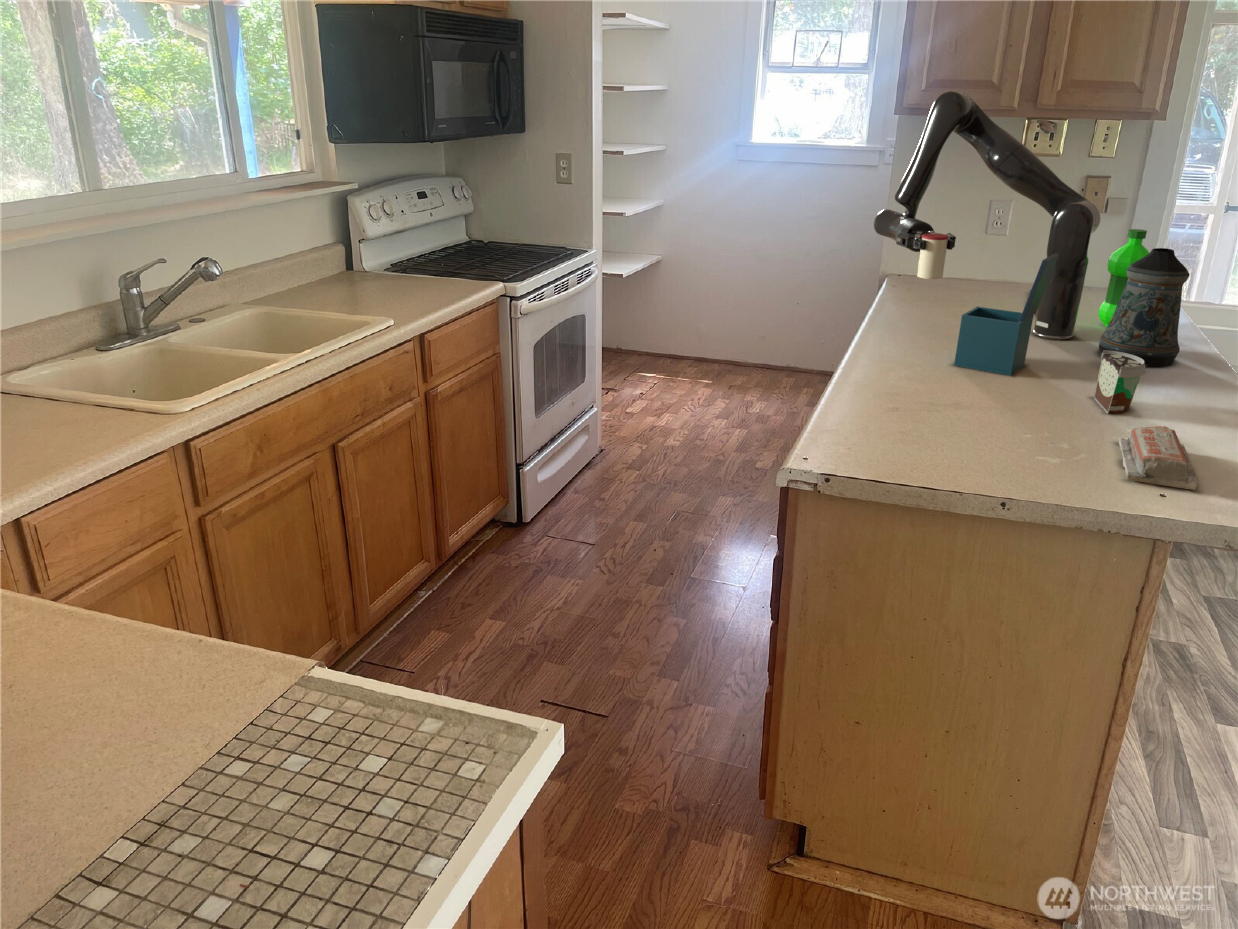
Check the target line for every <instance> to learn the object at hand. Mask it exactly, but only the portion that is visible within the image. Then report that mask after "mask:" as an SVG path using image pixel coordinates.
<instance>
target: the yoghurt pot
mask: <svg viewBox="0 0 1238 929" xmlns="http://www.w3.org/2000/svg"><path fill="white" fill-rule="evenodd" d="M935 233H936V232H935ZM935 233H929V234H923V235H922V239H923V240H925V241H926V247H925V250H921V249H920V252H919V258H918V264H917V274H916V277H917V278H920V279H923V280H925V279H926V280H941V279H943V277H944V270H945V263H946V256H947V250H948V249H947V242H948V238H949V236H948V235H945V234H946V233H945V234H944V233H941V234H935Z"/></svg>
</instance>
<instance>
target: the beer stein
mask: <svg viewBox="0 0 1238 929" xmlns="http://www.w3.org/2000/svg"><path fill="white" fill-rule="evenodd" d="M1127 277H1128V279H1127V283H1126V286H1125V288H1124V290H1123V293H1122V295H1121V298H1120V300H1119V302H1118V305H1117V307H1116V309H1115V312H1114V314H1113V316H1112V319H1111V321H1110V323H1109V324H1108V326H1106V328H1105V330H1104V332H1103V333H1102V334H1101V335H1100V337H1099V340H1098V355H1099V356H1100V357H1101V356H1102V353H1103V350H1108V351H1117V352H1123V353H1127V354H1131V355H1134V356H1137V357H1139V358H1141V359H1143V360H1144V364H1145V368H1165V367H1171V366H1172V365H1173V364H1174V362H1175V360H1176V358H1177V357H1178V355H1179V353H1180V351H1181V349H1180V344H1179V339H1178V338H1179V324H1180V317H1181V316H1180V315H1181V309H1182V308H1181V307H1182V298H1183V297H1182V296H1183V288H1184V287H1183V286H1184V284H1185V283H1186V282H1187V281H1188V279H1189V277H1190V272H1189V270H1188V268H1187V267H1186V266H1185V265H1184V264H1183V263H1182V262H1181V261H1180V260H1179V259H1178V258H1177V256H1176V255H1175V250H1174V249H1171V248H1166V247H1164V248H1163V247H1157V248H1155V247H1154V248H1152V249H1151V251H1149V254H1148V255H1146V256H1144V257H1143V258H1141V259H1139V260H1138V261H1136V262H1134V263H1133V264H1131V265H1130V266H1129V267H1128V268H1127Z"/></svg>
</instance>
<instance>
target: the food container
mask: <svg viewBox="0 0 1238 929" xmlns="http://www.w3.org/2000/svg"><path fill="white" fill-rule="evenodd" d="M1100 360H1101V361H1100V366H1099V371H1098V375H1097V381H1096V387H1095V392H1094V397H1093V399H1094V401H1096V403H1097V404H1098V405H1099V406H1100V407H1101V408H1102V409H1103V410H1104V411H1105V413H1106V414H1107V415H1122V414H1125V413H1128V412H1129V411H1130V409H1131V408H1130V407H1131V405H1132V403H1133V399H1134V396H1135V393H1136V390H1137V387H1138V384H1139V381H1140V378H1141V377H1142V376H1144V375H1146V367H1145V364H1144V360H1143V359H1141V358H1139V357H1137V356H1134V355H1131V354H1127V353H1123V352H1117V351H1108V350H1103V353H1102V356H1100Z"/></svg>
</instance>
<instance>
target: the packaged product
mask: <svg viewBox="0 0 1238 929" xmlns="http://www.w3.org/2000/svg"><path fill="white" fill-rule="evenodd" d="M1128 436H1129V437H1127V438H1123V437H1119V440H1118V444H1119V448H1120V450H1121V451H1120V452H1121V456H1122V466H1123V468H1124V470H1125V474H1126V477H1127V480H1128V481H1134V482H1140V483H1141V482H1142V483H1146V484H1147V483H1148V484H1153V485H1159V486H1165V487H1173V488H1177V489H1178V488H1179V489H1185V490H1186V489H1187V490H1193V491H1196V489H1197V486H1198V484H1199V481H1198V478H1197V475H1196V472H1195V470H1194V468H1193V465H1192V463H1191V460H1190V458H1189V455H1188V452H1187V449H1186V447H1185V444H1184V443H1181V442H1180V439H1179V437H1178V435H1177V432H1176V430H1175V429H1171V428H1169V427H1168V426H1165V425H1163V426H1162V425H1156V426H1145V427H1135V428H1132V429H1131V431H1130V432H1129V435H1128Z"/></svg>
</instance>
